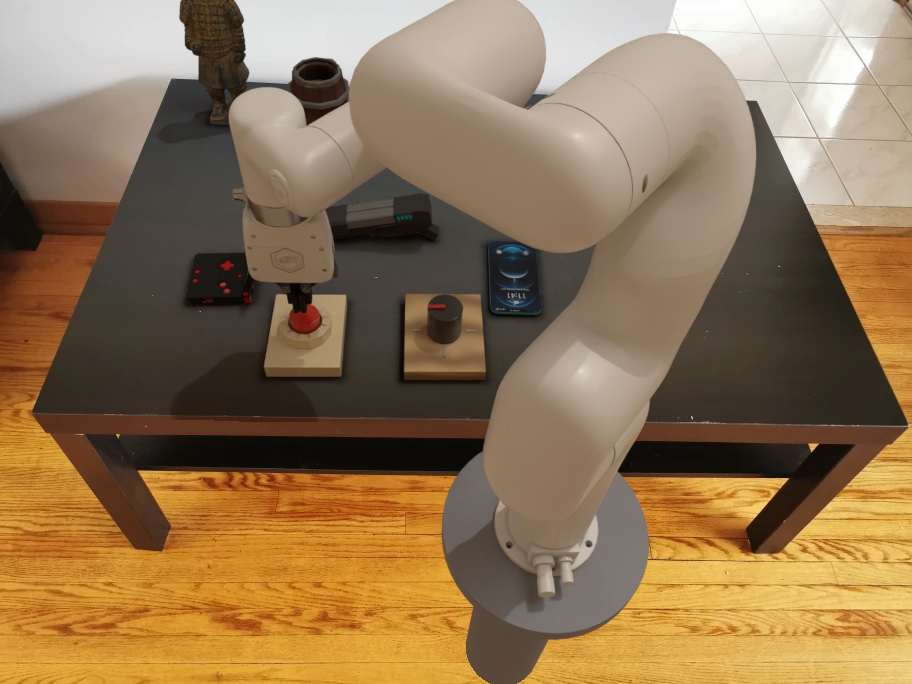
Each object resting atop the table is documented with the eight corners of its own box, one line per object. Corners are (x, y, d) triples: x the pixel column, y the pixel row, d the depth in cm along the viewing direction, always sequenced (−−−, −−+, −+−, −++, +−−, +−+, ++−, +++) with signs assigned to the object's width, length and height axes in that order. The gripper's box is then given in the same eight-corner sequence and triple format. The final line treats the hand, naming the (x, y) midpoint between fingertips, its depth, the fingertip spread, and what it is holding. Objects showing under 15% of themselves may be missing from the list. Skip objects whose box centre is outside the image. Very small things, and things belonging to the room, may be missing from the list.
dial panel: (484, 380, 96) (486, 371, 95) (404, 380, 96) (403, 370, 94) (479, 303, 105) (480, 293, 103) (405, 302, 104) (405, 292, 103)
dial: (460, 317, 100) (462, 292, 96) (462, 344, 97) (464, 319, 93) (426, 317, 100) (427, 292, 96) (427, 344, 97) (428, 319, 93)
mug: (350, 170, 122) (344, 93, 111) (282, 162, 123) (268, 84, 111) (369, 118, 132) (365, 42, 120) (306, 110, 133) (295, 34, 121)
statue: (199, 124, 128) (151, -49, 105) (210, 100, 133) (166, -71, 109) (256, 128, 128) (221, -45, 105) (265, 104, 133) (233, -67, 110)
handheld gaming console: (197, 259, 108) (180, 209, 100) (278, 257, 109) (267, 208, 101) (187, 305, 102) (168, 256, 94) (273, 303, 103) (261, 254, 95)
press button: (319, 334, 95) (317, 326, 94) (289, 334, 95) (287, 325, 94) (321, 311, 98) (320, 303, 96) (292, 311, 97) (290, 303, 96)
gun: (442, 243, 111) (422, 197, 104) (327, 272, 116) (299, 229, 108) (442, 224, 114) (421, 177, 107) (329, 253, 118) (302, 209, 111)
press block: (341, 377, 95) (338, 359, 92) (266, 376, 95) (261, 359, 92) (347, 304, 103) (345, 286, 100) (278, 304, 103) (274, 285, 100)
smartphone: (535, 242, 113) (542, 313, 103) (535, 245, 113) (541, 316, 104) (487, 240, 112) (490, 311, 103) (487, 243, 113) (489, 314, 103)
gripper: (207, 220, 76) (239, 326, 91) (346, 222, 77) (356, 327, 92) (220, 175, 81) (248, 283, 95) (351, 178, 82) (359, 285, 96)
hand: (301, 305), depth 94 cm, fingers closed
